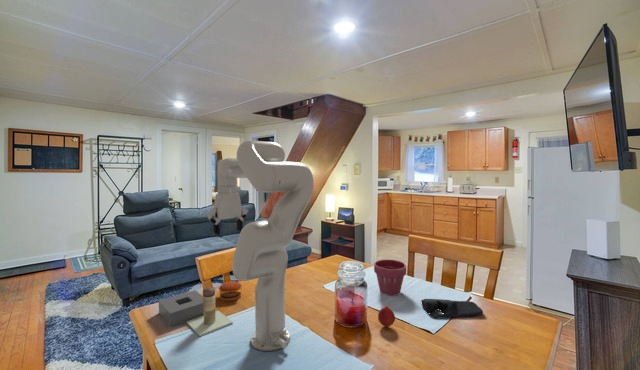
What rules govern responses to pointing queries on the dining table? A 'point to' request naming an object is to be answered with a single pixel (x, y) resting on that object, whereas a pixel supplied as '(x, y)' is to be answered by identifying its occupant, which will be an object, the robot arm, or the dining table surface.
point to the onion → (386, 316)
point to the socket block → (181, 308)
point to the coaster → (204, 329)
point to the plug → (209, 305)
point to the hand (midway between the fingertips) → (228, 232)
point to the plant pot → (390, 275)
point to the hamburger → (230, 291)
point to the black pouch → (450, 308)
